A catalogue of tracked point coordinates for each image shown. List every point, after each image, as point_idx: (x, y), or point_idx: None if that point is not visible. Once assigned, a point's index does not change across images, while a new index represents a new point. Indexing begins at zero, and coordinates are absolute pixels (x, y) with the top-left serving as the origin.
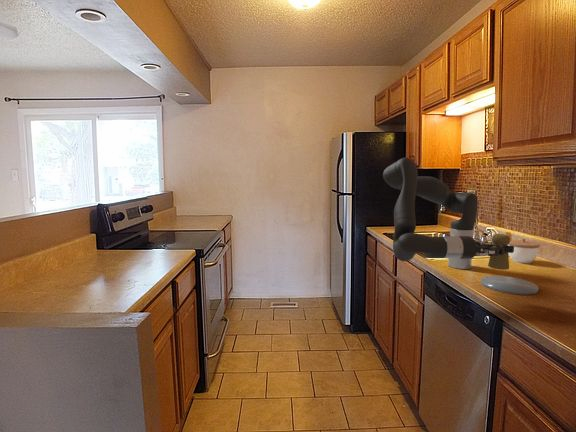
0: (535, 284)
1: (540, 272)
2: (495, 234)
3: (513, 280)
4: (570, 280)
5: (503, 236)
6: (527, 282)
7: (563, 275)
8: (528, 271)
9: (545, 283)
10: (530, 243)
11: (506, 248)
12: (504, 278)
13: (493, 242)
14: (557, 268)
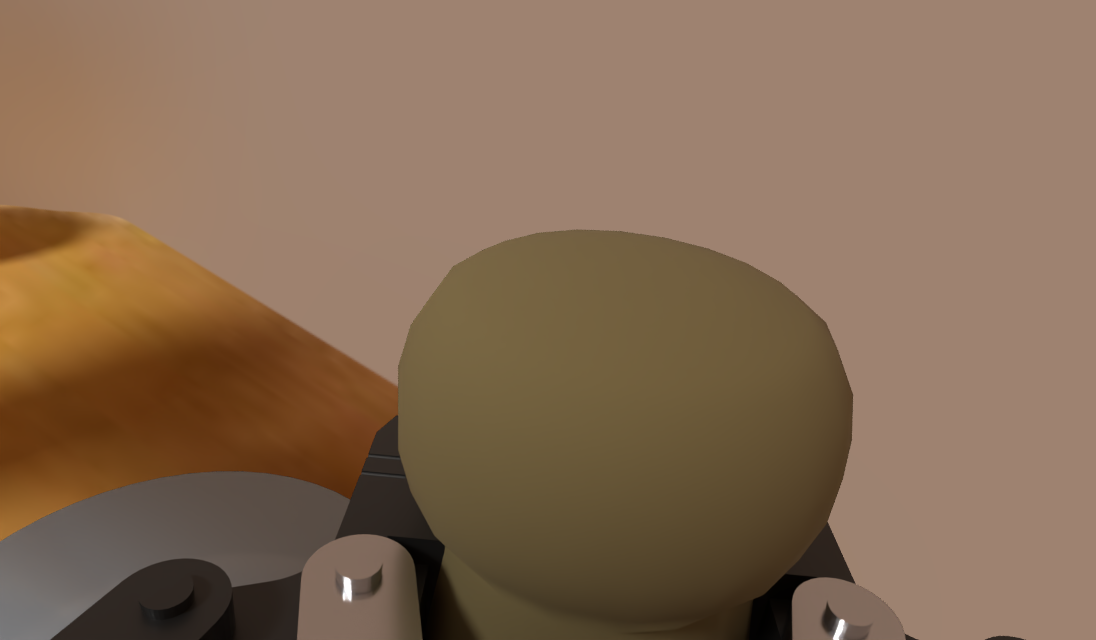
0: (291, 477)
1: (75, 315)
2: (586, 342)
3: (139, 544)
4: (260, 305)
5: (819, 333)
6: (230, 491)
7: (183, 283)
8: (13, 341)
9: (247, 405)
10: None
11: (843, 571)
12: (50, 572)
13: (632, 623)
14: (83, 242)
